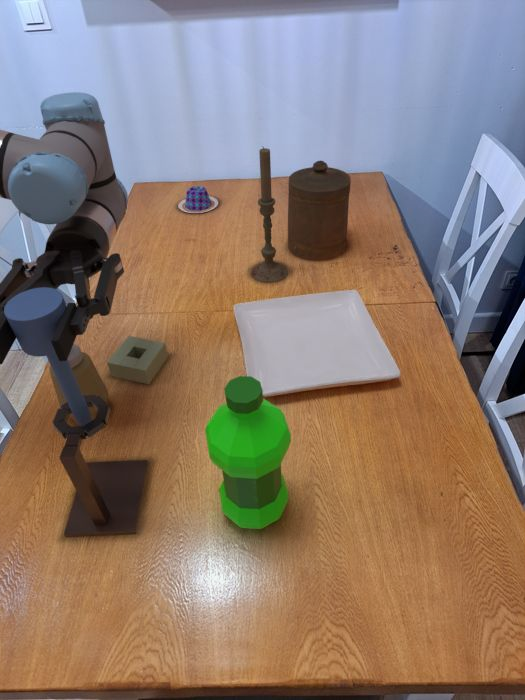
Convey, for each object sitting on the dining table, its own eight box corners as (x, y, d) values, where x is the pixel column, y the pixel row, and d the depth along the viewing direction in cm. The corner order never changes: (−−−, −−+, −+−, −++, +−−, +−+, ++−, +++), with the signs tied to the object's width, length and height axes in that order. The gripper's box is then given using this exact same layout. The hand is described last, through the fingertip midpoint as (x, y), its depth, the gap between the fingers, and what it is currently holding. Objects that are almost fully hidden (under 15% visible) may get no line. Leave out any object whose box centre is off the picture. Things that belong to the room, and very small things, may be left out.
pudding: (223, 199, 150) (221, 182, 147) (211, 216, 142) (209, 199, 138) (186, 196, 153) (184, 180, 149) (172, 214, 144) (169, 197, 140)
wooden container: (347, 234, 130) (353, 150, 116) (344, 264, 120) (351, 175, 105) (291, 232, 133) (291, 149, 118) (284, 260, 122) (282, 173, 107)
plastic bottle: (224, 476, 75) (205, 357, 59) (293, 481, 74) (293, 360, 58) (213, 538, 68) (187, 421, 51) (289, 544, 67) (287, 426, 50)
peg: (51, 432, 63) (-10, 315, 51) (78, 399, 67) (28, 283, 55) (91, 442, 62) (38, 324, 49) (116, 408, 66) (74, 291, 53)
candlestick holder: (253, 263, 122) (245, 138, 102) (290, 264, 120) (289, 138, 101) (247, 283, 115) (238, 154, 95) (286, 285, 114) (284, 154, 94)
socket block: (112, 377, 93) (106, 362, 90) (133, 350, 99) (128, 335, 96) (149, 386, 91) (145, 370, 88) (168, 358, 96) (165, 342, 94)
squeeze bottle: (64, 434, 83) (26, 356, 71) (68, 400, 89) (33, 322, 77) (112, 425, 84) (83, 347, 72) (113, 392, 90) (86, 314, 78)
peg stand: (86, 467, 78) (51, 393, 67) (149, 463, 78) (125, 389, 66) (66, 538, 69) (21, 467, 58) (137, 535, 69) (106, 463, 57)
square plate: (251, 410, 85) (250, 395, 83) (233, 316, 106) (232, 302, 103) (400, 388, 88) (403, 373, 85) (355, 300, 108) (356, 286, 105)
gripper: (156, 260, 69) (127, 374, 52) (23, 267, 70) (-50, 383, 52) (145, 211, 64) (109, 318, 47) (2, 219, 65) (-86, 329, 47)
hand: (26, 352), depth 50 cm, fingers closed on peg, 6 cm apart
